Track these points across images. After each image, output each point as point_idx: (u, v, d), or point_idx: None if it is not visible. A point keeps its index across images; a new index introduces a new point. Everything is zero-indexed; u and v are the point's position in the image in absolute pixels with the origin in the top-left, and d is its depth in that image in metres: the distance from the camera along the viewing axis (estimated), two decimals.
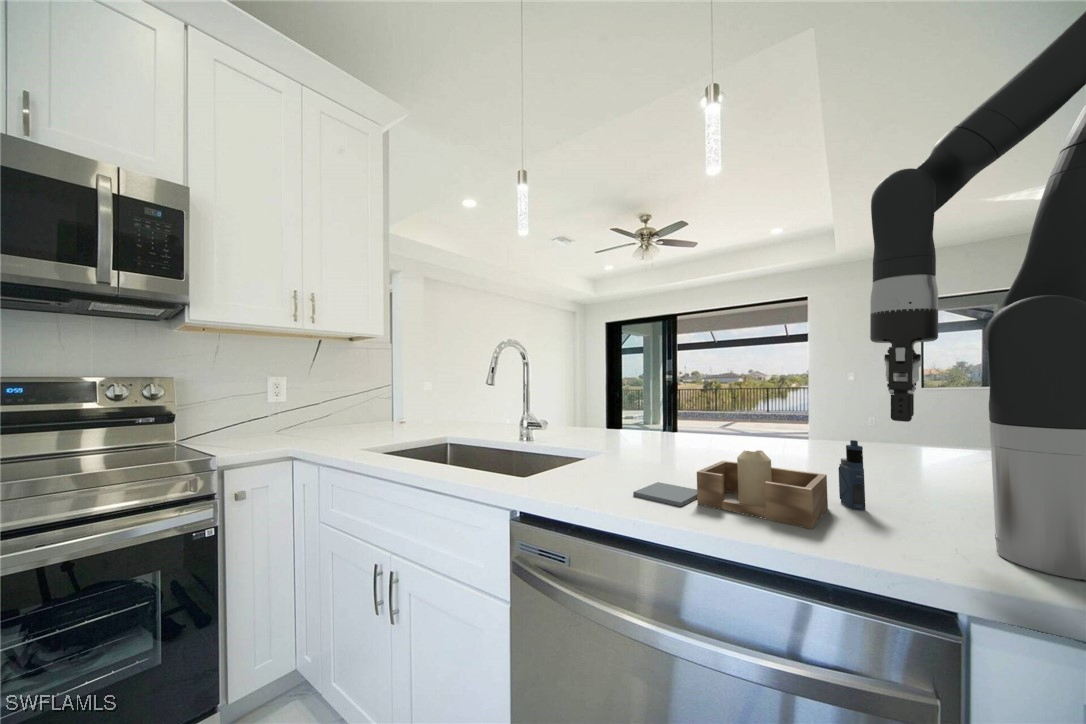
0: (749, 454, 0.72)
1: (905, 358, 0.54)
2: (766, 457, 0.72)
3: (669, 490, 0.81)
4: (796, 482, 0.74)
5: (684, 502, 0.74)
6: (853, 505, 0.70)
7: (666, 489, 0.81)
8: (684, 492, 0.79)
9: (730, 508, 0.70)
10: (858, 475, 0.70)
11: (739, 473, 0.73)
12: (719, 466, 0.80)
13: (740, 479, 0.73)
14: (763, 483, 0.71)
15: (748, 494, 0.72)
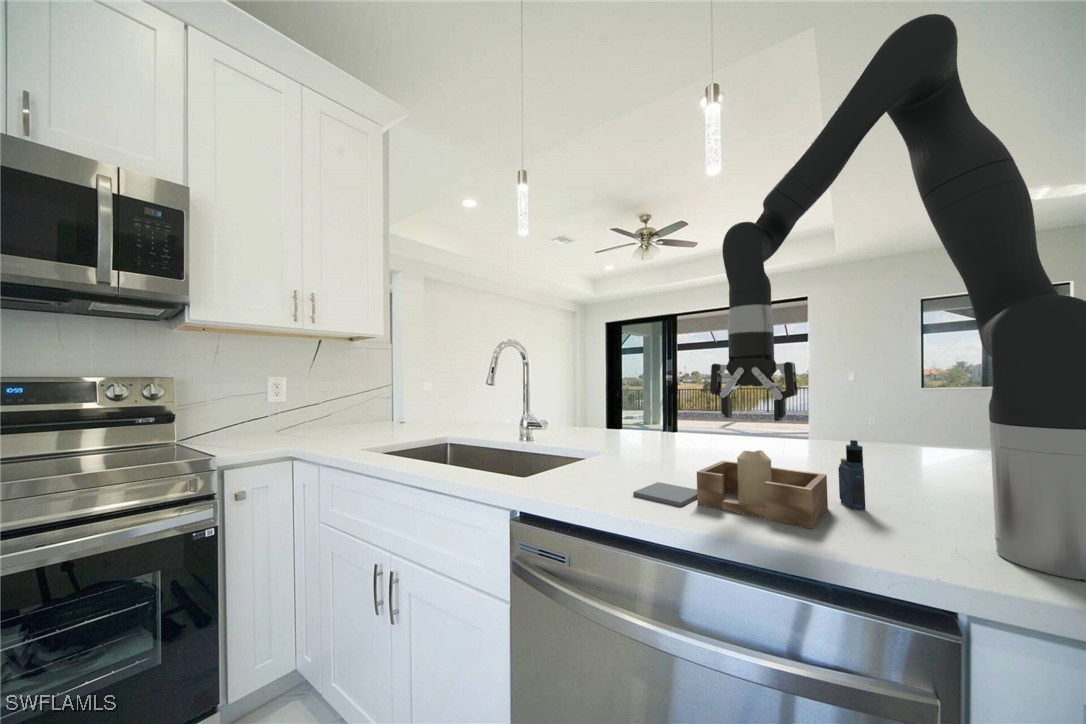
0: (749, 454, 0.72)
1: (794, 371, 0.70)
2: (766, 457, 0.72)
3: (669, 490, 0.81)
4: (796, 482, 0.74)
5: (684, 502, 0.74)
6: (853, 505, 0.70)
7: (666, 489, 0.81)
8: (684, 492, 0.79)
9: (730, 508, 0.70)
10: (858, 475, 0.70)
11: (739, 473, 0.73)
12: (719, 466, 0.80)
13: (740, 479, 0.73)
14: (763, 483, 0.71)
15: (748, 494, 0.72)
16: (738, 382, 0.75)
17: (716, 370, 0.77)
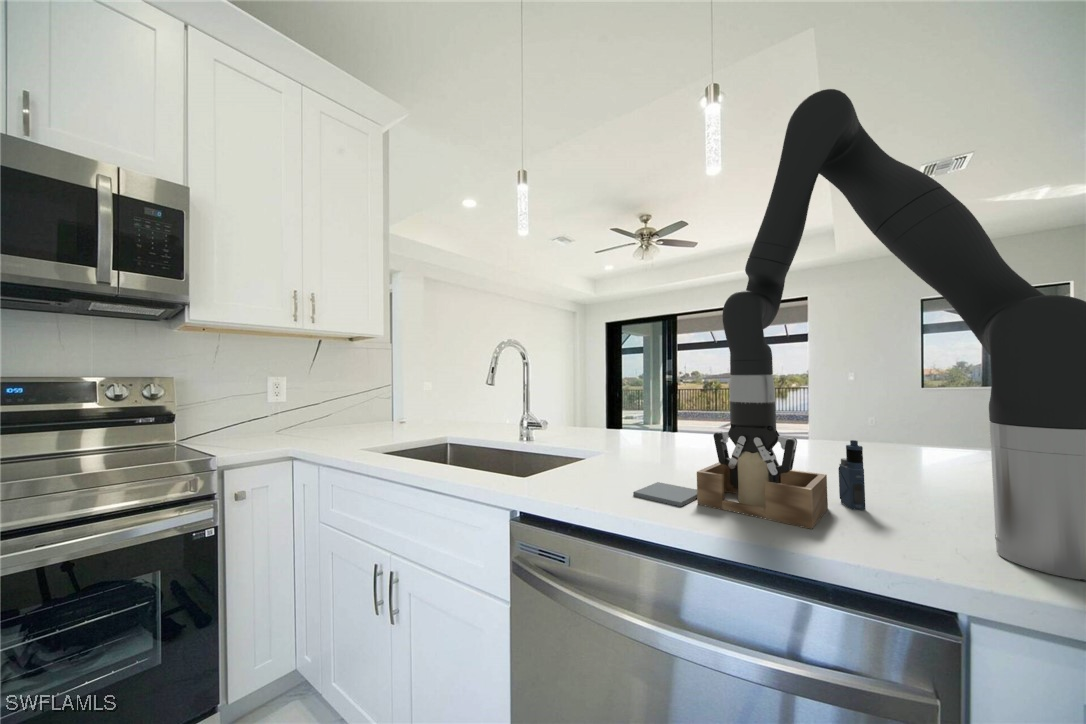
0: (749, 454, 0.72)
1: (795, 448, 0.69)
2: None
3: (669, 490, 0.81)
4: (796, 482, 0.74)
5: (684, 502, 0.74)
6: (853, 505, 0.70)
7: (666, 489, 0.81)
8: (684, 492, 0.79)
9: (730, 508, 0.70)
10: (858, 475, 0.70)
11: (739, 473, 0.73)
12: (719, 466, 0.80)
13: (740, 479, 0.73)
14: (763, 483, 0.71)
15: (748, 494, 0.72)
16: (743, 451, 0.74)
17: (719, 439, 0.77)
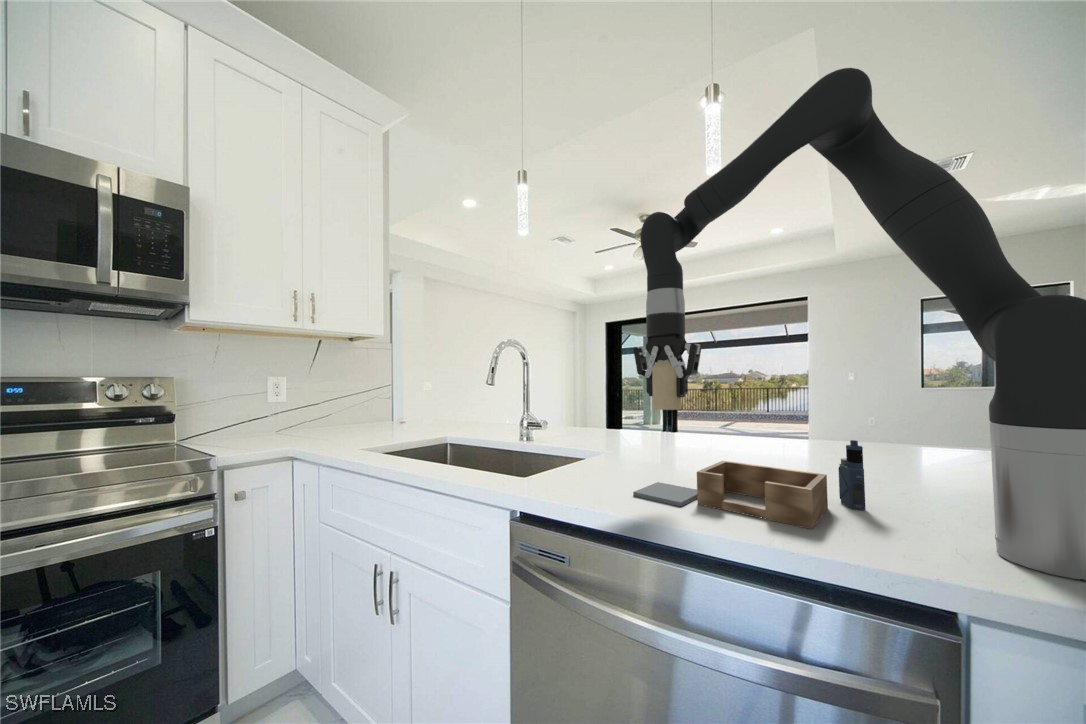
0: (661, 361, 0.80)
1: (699, 353, 0.77)
2: None
3: (669, 490, 0.81)
4: (796, 482, 0.74)
5: (684, 502, 0.74)
6: (853, 505, 0.70)
7: (666, 489, 0.81)
8: (684, 492, 0.79)
9: (730, 508, 0.70)
10: (858, 475, 0.70)
11: (652, 380, 0.81)
12: (719, 466, 0.80)
13: (653, 385, 0.80)
14: (671, 386, 0.78)
15: (659, 397, 0.79)
16: (657, 360, 0.81)
17: (638, 352, 0.84)
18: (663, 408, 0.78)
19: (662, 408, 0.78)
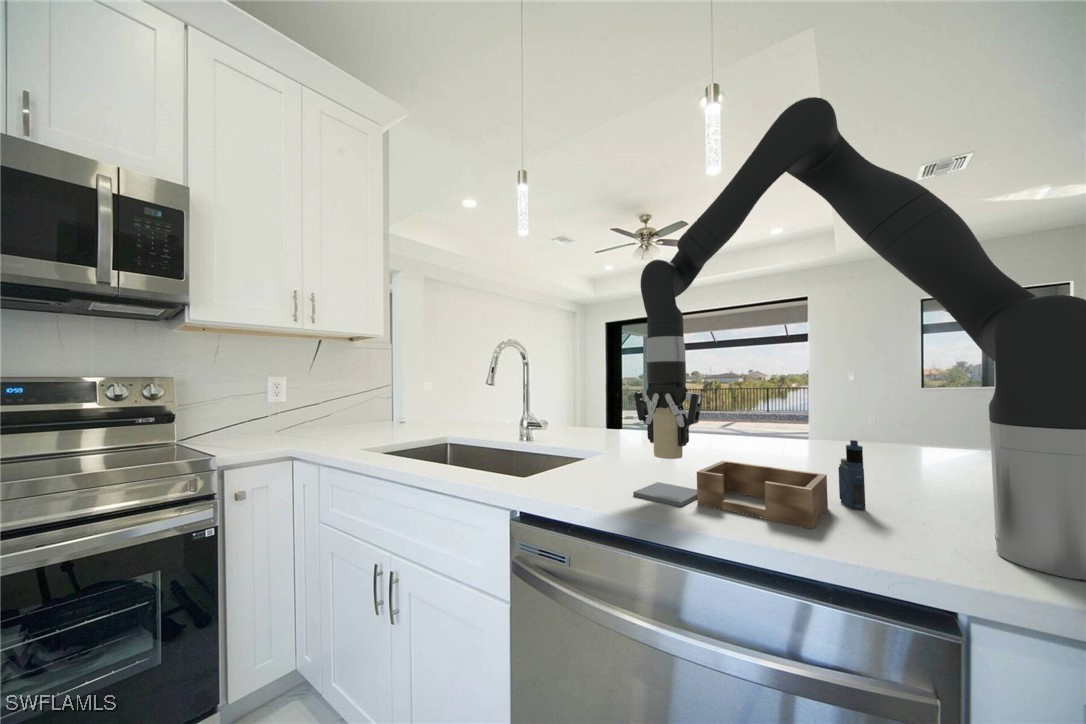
0: (662, 409, 0.79)
1: (700, 402, 0.76)
2: None
3: (669, 490, 0.81)
4: (796, 482, 0.74)
5: (684, 502, 0.74)
6: (853, 505, 0.70)
7: (666, 489, 0.81)
8: (684, 492, 0.79)
9: (730, 508, 0.70)
10: (858, 475, 0.70)
11: (653, 427, 0.80)
12: (719, 466, 0.80)
13: (654, 432, 0.80)
14: (672, 435, 0.77)
15: (660, 445, 0.78)
16: (658, 407, 0.81)
17: (638, 398, 0.84)
18: (664, 457, 0.78)
19: (663, 457, 0.78)
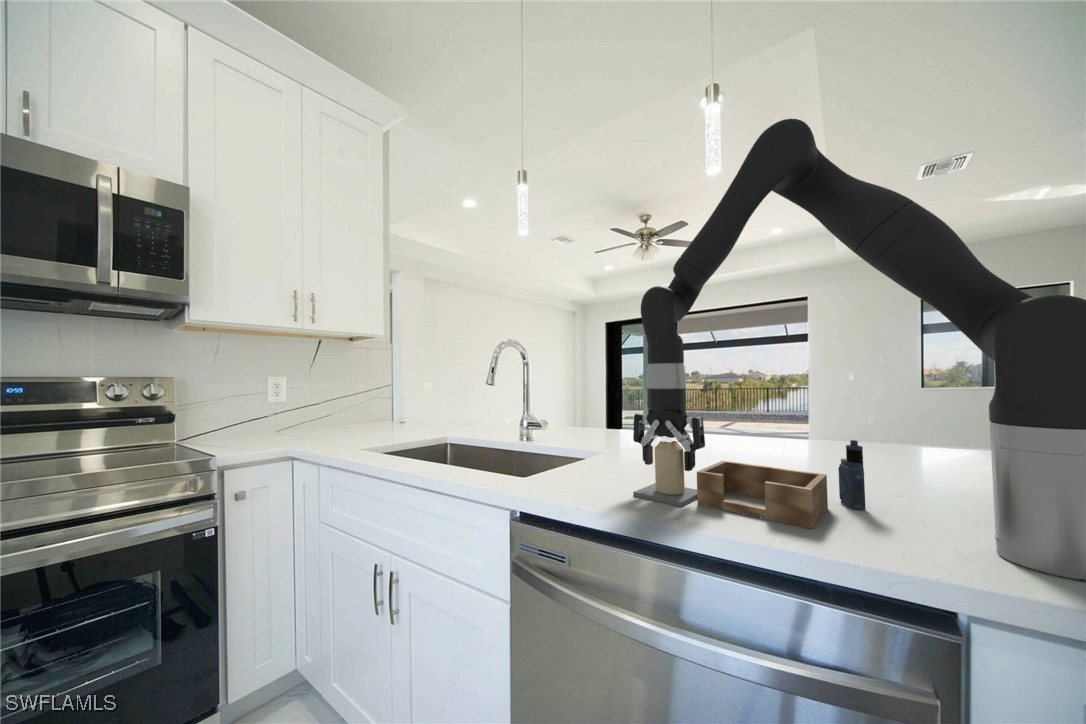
0: (663, 444, 0.79)
1: (702, 425, 0.76)
2: (678, 447, 0.78)
3: None
4: (796, 482, 0.74)
5: (684, 502, 0.74)
6: (853, 505, 0.70)
7: None
8: (684, 492, 0.79)
9: (730, 508, 0.70)
10: (858, 475, 0.70)
11: (655, 462, 0.80)
12: (719, 466, 0.80)
13: (656, 467, 0.80)
14: (674, 470, 0.77)
15: (662, 481, 0.78)
16: (655, 432, 0.81)
17: (638, 420, 0.84)
18: (666, 493, 0.77)
19: (664, 492, 0.78)
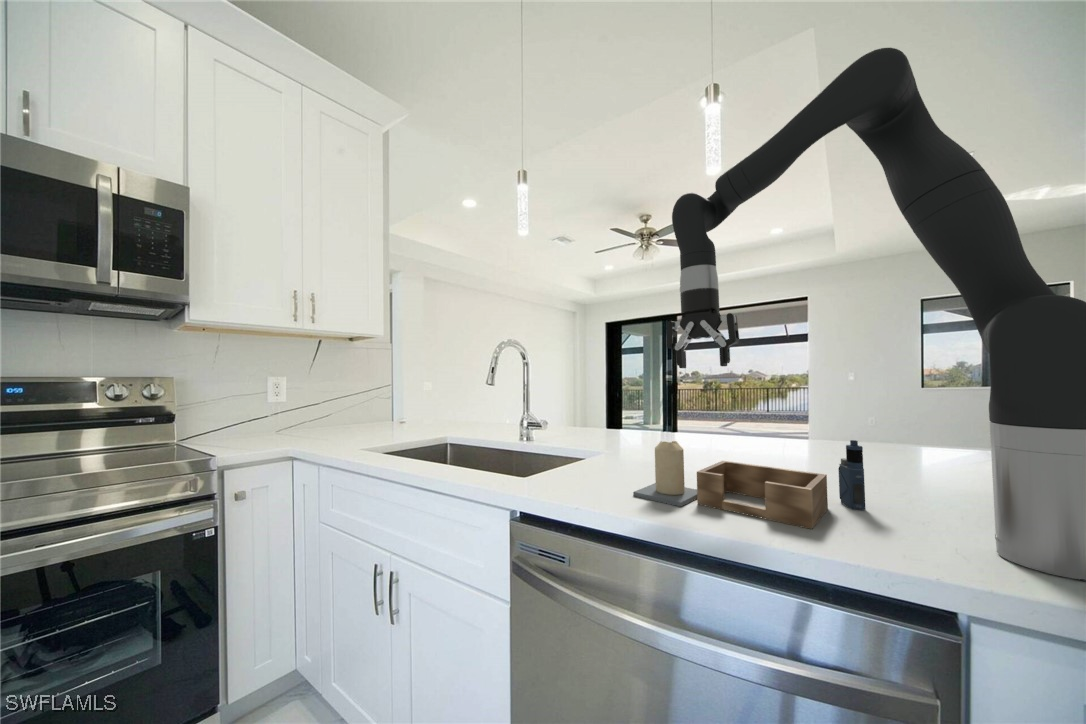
0: (663, 444, 0.79)
1: (736, 321, 0.79)
2: (678, 447, 0.78)
3: None
4: (796, 482, 0.74)
5: (684, 502, 0.74)
6: (853, 505, 0.70)
7: None
8: (684, 492, 0.79)
9: (730, 508, 0.70)
10: (858, 475, 0.70)
11: (655, 462, 0.80)
12: (719, 466, 0.80)
13: (656, 467, 0.80)
14: (674, 470, 0.77)
15: (661, 481, 0.78)
16: (690, 335, 0.84)
17: (671, 326, 0.87)
18: (666, 493, 0.77)
19: (664, 492, 0.78)
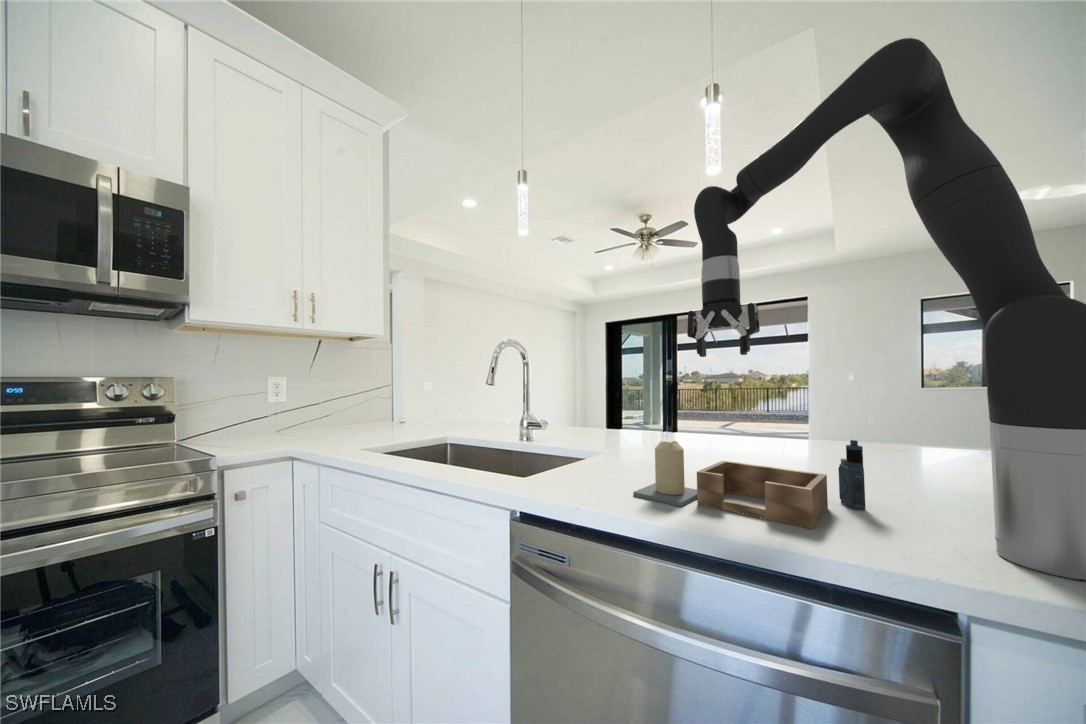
0: (663, 444, 0.79)
1: (756, 311, 0.82)
2: (678, 447, 0.78)
3: None
4: (796, 482, 0.74)
5: (684, 502, 0.74)
6: (853, 505, 0.70)
7: None
8: (684, 492, 0.79)
9: (730, 508, 0.70)
10: (858, 475, 0.70)
11: (655, 462, 0.80)
12: (719, 466, 0.80)
13: (656, 467, 0.80)
14: (674, 470, 0.77)
15: (662, 481, 0.78)
16: (710, 324, 0.87)
17: (692, 316, 0.89)
18: (666, 493, 0.77)
19: (664, 492, 0.78)
